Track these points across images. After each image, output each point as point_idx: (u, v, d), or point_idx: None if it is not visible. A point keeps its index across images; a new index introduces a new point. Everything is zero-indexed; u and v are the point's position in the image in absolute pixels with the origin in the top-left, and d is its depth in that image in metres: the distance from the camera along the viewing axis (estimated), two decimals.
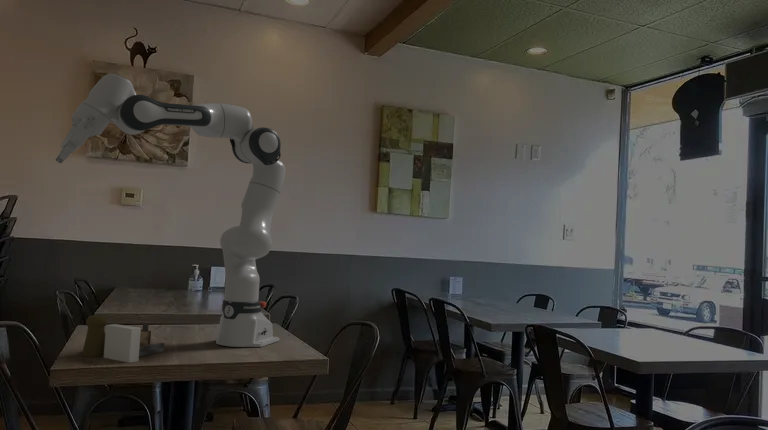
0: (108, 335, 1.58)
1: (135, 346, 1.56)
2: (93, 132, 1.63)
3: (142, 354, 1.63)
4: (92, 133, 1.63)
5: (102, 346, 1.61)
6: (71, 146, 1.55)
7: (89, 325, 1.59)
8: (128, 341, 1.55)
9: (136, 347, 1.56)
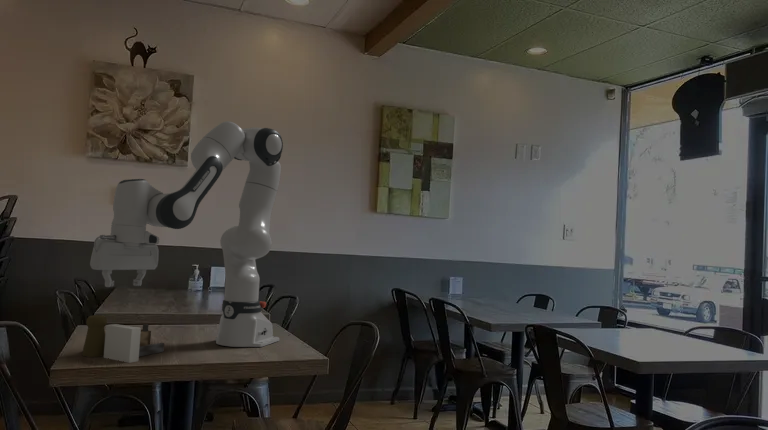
0: (108, 335, 1.58)
1: (135, 346, 1.56)
2: (128, 245, 1.56)
3: (142, 354, 1.63)
4: (127, 247, 1.56)
5: (102, 346, 1.61)
6: (104, 272, 1.52)
7: (89, 325, 1.59)
8: (128, 341, 1.55)
9: (136, 347, 1.56)
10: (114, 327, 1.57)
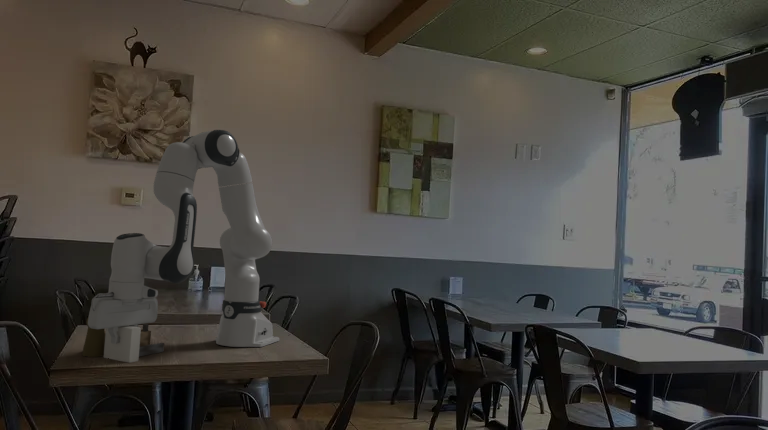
0: (108, 335, 1.58)
1: (135, 346, 1.56)
2: (126, 302, 1.55)
3: (142, 354, 1.63)
4: (125, 303, 1.55)
5: (102, 346, 1.61)
6: (110, 329, 1.54)
7: None
8: (128, 340, 1.55)
9: (136, 347, 1.56)
10: None
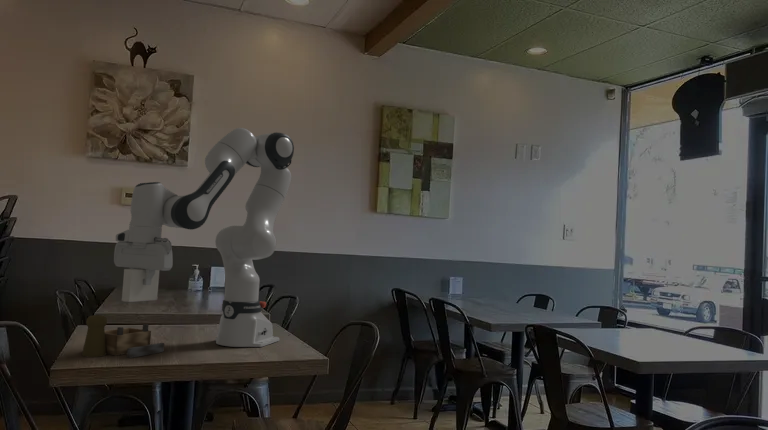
0: (134, 279, 1.62)
1: None
2: None
3: (142, 354, 1.63)
4: None
5: (102, 346, 1.61)
6: (152, 271, 1.65)
7: (89, 325, 1.59)
8: (155, 280, 1.69)
9: None
10: (141, 270, 1.64)
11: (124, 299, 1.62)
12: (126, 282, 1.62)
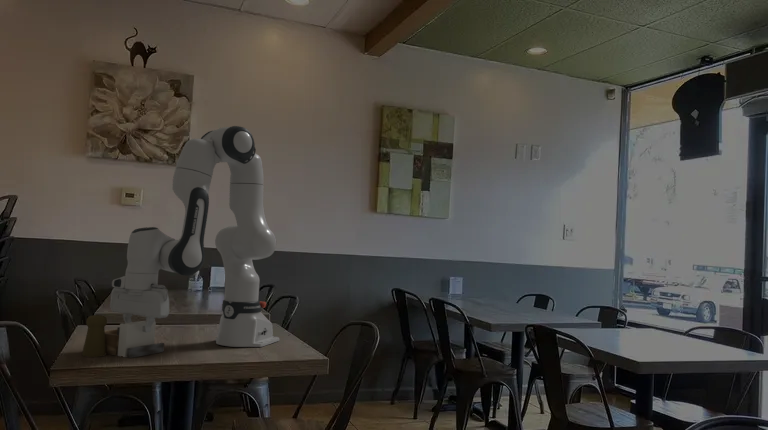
0: (130, 334, 1.62)
1: None
2: None
3: (142, 354, 1.63)
4: None
5: (102, 346, 1.61)
6: (152, 318, 1.64)
7: (89, 325, 1.59)
8: (151, 333, 1.69)
9: None
10: (137, 324, 1.64)
11: (120, 354, 1.61)
12: (122, 337, 1.61)
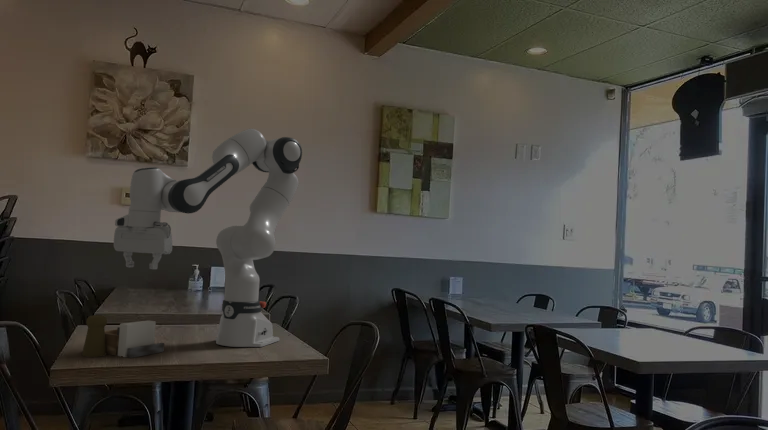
0: (130, 334, 1.62)
1: None
2: None
3: (142, 354, 1.63)
4: None
5: (102, 346, 1.61)
6: (158, 255, 1.67)
7: (89, 325, 1.59)
8: (151, 333, 1.69)
9: None
10: (137, 324, 1.64)
11: (120, 354, 1.61)
12: (122, 337, 1.61)
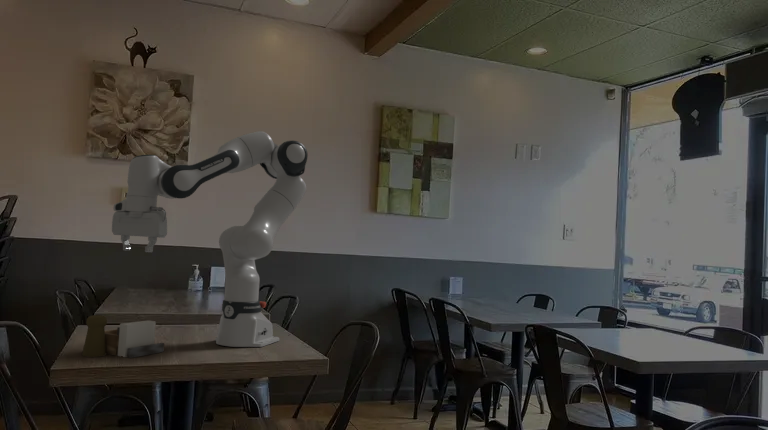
0: (130, 334, 1.62)
1: None
2: None
3: (142, 354, 1.63)
4: None
5: (102, 346, 1.61)
6: (154, 239, 1.74)
7: (89, 325, 1.59)
8: (151, 333, 1.69)
9: None
10: (137, 324, 1.64)
11: (120, 354, 1.61)
12: (122, 337, 1.61)
